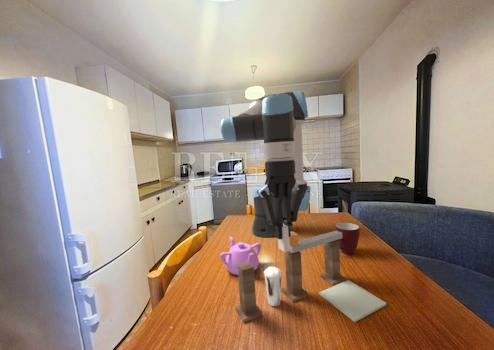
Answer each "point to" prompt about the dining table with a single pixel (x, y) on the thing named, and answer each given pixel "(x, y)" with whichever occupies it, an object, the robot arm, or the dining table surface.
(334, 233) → the bar
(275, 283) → the milkshake
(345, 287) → the mat
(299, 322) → the dining table surface
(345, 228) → the mug
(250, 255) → the teapot
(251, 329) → the dining table surface
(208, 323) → the dining table surface
